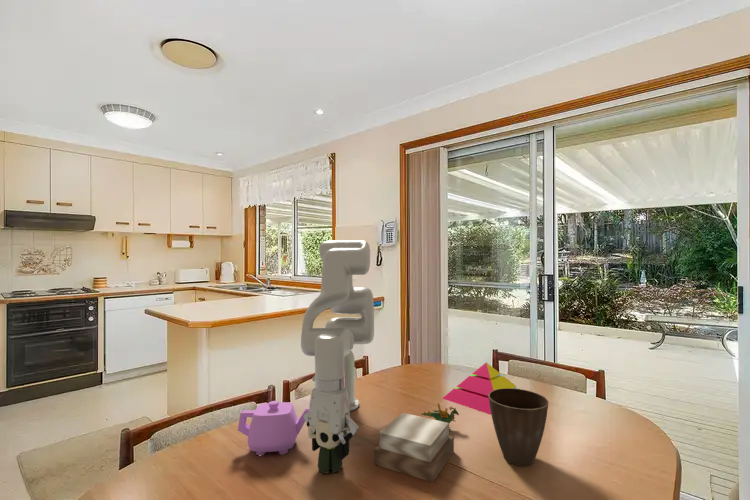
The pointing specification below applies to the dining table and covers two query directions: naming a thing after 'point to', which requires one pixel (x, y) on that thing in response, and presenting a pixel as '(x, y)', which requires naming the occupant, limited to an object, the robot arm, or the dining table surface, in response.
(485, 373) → the pyramid toy
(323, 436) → the character mug
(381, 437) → the grey stacked block
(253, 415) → the teapot
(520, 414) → the plant pot
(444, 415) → the figurine
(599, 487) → the dining table surface
